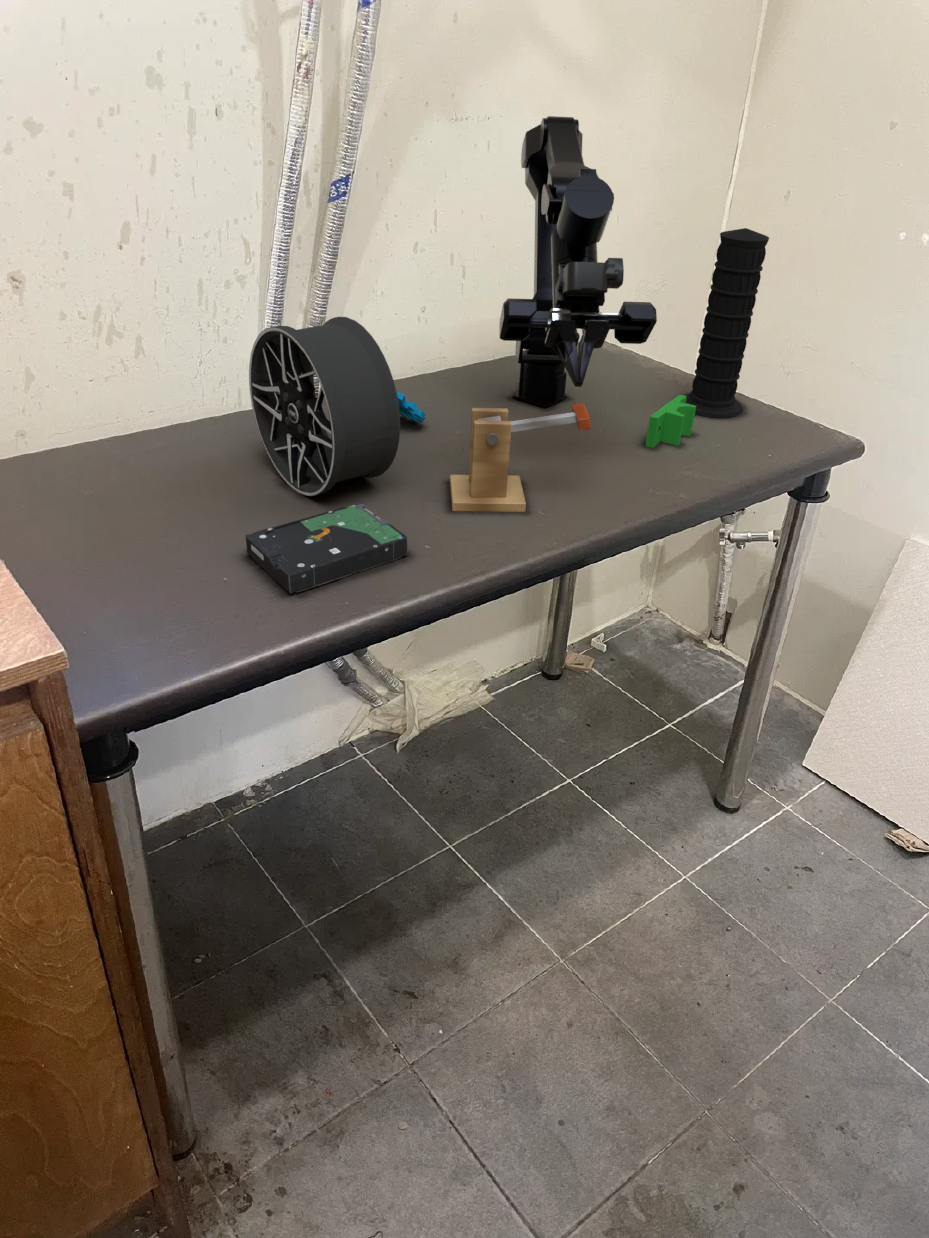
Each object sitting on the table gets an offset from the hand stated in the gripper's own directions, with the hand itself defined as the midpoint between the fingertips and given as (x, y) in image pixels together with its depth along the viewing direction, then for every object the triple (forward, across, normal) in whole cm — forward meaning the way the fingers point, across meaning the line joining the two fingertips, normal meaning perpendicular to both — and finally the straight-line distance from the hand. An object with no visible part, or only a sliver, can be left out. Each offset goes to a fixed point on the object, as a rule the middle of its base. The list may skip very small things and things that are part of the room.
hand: (578, 385), depth 111 cm
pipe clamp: (-2, +18, +21) cm, 28 cm away
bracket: (+12, -11, +7) cm, 18 cm away
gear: (-4, -23, +23) cm, 33 cm away
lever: (+6, -6, +1) cm, 8 cm away
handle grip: (-11, +27, +30) cm, 42 cm away
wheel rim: (+9, -31, +10) cm, 34 cm away
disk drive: (+23, -30, -4) cm, 38 cm away
